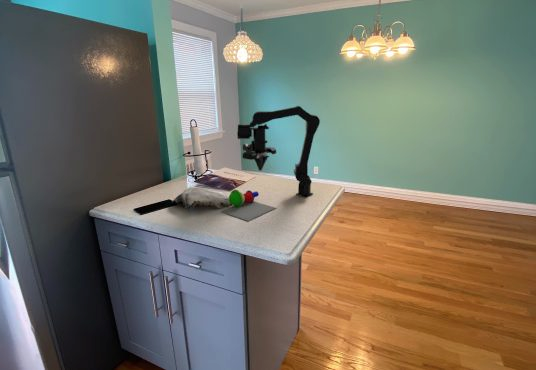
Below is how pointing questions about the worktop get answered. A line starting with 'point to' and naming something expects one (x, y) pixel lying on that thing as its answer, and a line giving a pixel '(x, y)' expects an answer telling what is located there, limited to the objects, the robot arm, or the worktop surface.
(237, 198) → the toy
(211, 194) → the stone fragment
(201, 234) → the worktop surface
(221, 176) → the worktop surface
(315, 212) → the worktop surface
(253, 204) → the mat
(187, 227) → the worktop surface
